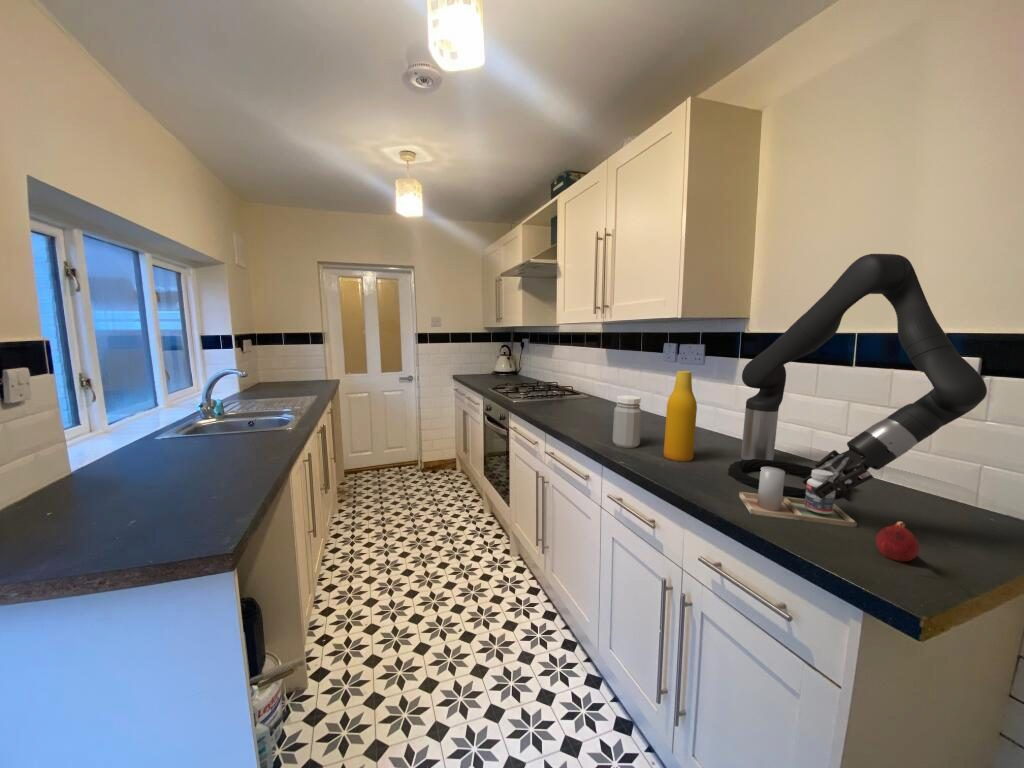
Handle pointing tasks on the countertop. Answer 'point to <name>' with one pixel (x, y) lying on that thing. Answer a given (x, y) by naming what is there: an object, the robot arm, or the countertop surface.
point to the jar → (627, 421)
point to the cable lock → (791, 468)
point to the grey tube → (771, 488)
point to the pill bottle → (811, 499)
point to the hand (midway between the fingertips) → (811, 489)
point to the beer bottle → (680, 420)
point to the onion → (897, 543)
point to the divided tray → (797, 511)
